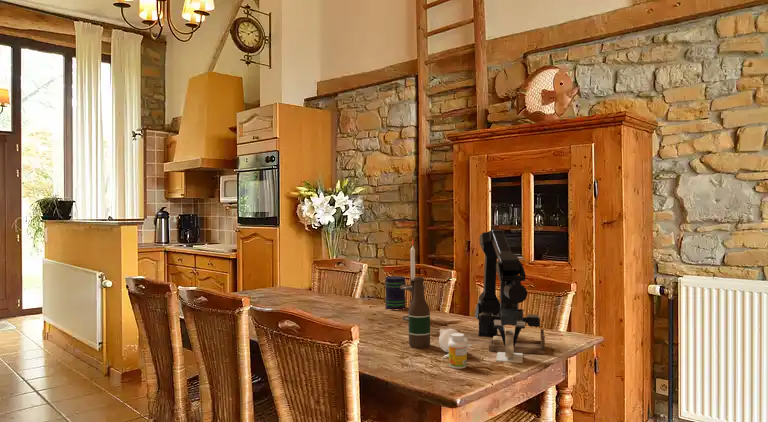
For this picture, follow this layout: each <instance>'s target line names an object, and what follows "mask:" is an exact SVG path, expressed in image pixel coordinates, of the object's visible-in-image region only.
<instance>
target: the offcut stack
mask: <svg viewBox="0 0 768 422" xmlns="http://www.w3.org/2000/svg"><path fill="white" fill-rule="evenodd" d="M492 338H493V345H504V343H503V340H502V337H501V335H499V336H498V335H496V336H492Z"/></svg>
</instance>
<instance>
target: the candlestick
mask: <svg viewBox="0 0 768 422" xmlns="http://www.w3.org/2000/svg"><path fill="white" fill-rule="evenodd" d="M411 241H412V242H411V245H412V246H411V248H410V279H409V282H410V284H409V283H408V284H407V283H406V285H401V286H400V288H401V289H403V290H405V291H409V292H410V293H411V300H410V301H409V304H411V302H412V301H413V297H414V277H416V249H415V246H414V244H415V240H414V237H413V238H412V240H411ZM423 285H424V284H423ZM426 288H427V286H426V285H424V290H426ZM403 319H404V320H408V321H407V322H409V316H408V315H404V316H402V320H403ZM404 320H403V321H404Z"/></svg>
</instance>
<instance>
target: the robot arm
mask: <svg viewBox="0 0 768 422" xmlns="http://www.w3.org/2000/svg"><path fill="white" fill-rule="evenodd" d="M478 241H479V245H480V249H481V250H482V252H483V254H484V267H483V285H482V286H483V289H482V292H481V293H480V295H479V296H478V300H477V301H478V302H477V303H476V304H475V305H476V306H475V310H474V317H475V319H477V320H478V334H477V335H478V336H481V337H494V336H497V334H498V331H499V333H500V336H501V337H502V340H503V343H504V346H505V334H506V329H505V326H513V327H514V340H513V347H515V344H516V341H517V340H518V336H519V335H520V333H521V331H522V329H525V328H526V324H527V325H528V326H529V327H532V328H533V327H536V328H537V327H538V328H539V327H541V317H540V316H539V314H530V313H528V314H526V316H524V309H522V308H521V309H520V307H519V306H520V305H519V304H520V303H523V302H524V301H526V299H527V298H528V290H527V288H526V286H524V285H522V282H525V281H526V276H527V275H526V272H525V268H524V265H523V263H522V262H521V260H520V258H519V257H518V255H517V254H515V253H513V252H512V251H511V247H510V245H509V243H508V241H507V238H506V231H505V230H503V229H491V230H489V231H486V232H482V233H481V234H480V235H479V239H478ZM497 278H498V281H499V282H500V284H499V296H500V297H499V298H500V299H499V298H498V297H497V295H496V291H497V290H496V288H497V287H496V286H497Z"/></svg>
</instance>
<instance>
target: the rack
mask: <svg viewBox="0 0 768 422" xmlns="http://www.w3.org/2000/svg"><path fill="white" fill-rule="evenodd" d="M544 331H545V330H544V328H542V329H541V328H540V340H536V339H535V340H533V339H532V340H531V339H517V341H516V344H515V347H514V353H523V354H534V355H545V354H546V353H545V352H546V347H545V346H546V345H545V343H546V342H545V341H546V340H545V339H546V336H545V334H544V333H545V332H544ZM489 339H490V340H489V342H488V352H497V353H498V352H505V346H504V345H493V337H490V338H489Z"/></svg>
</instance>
